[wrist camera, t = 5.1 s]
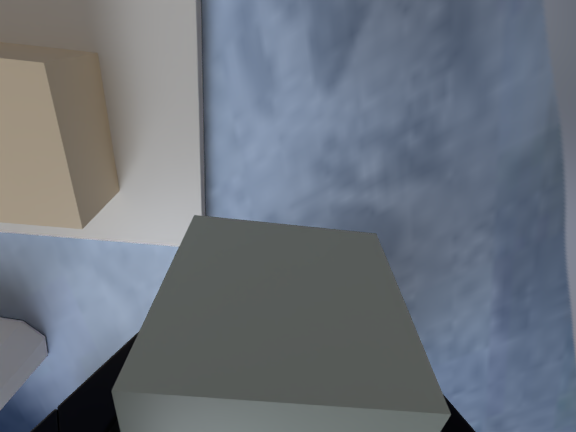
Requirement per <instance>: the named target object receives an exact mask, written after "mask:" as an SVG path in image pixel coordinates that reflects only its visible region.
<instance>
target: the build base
mask: <svg viewBox="0 0 576 432" xmlns="http://www.w3.org/2000/svg"><path fill="white" fill-rule="evenodd" d="M194 215H199V216H205V178H204V127H203V76H202V26H201V0H0V232H6V233H18V234H31V235H43V236H55V237H67V238H79V239H92V240H104V241H116V242H128V243H140V244H153V245H165V246H177V247H179V246H180V244H181V242H182V240H183V238H184V236H185V233H186V231H187V229H188V227H189V225H190V223H191V221H192V219H193V216H194Z"/></svg>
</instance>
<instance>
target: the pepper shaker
mask: <svg viewBox="0 0 576 432" xmlns="http://www.w3.org/2000/svg"><path fill="white" fill-rule="evenodd" d="M47 356H48V352H47V346H46V339H45V336H44V335H42V334H41V333H40V332H38V331H37V330H35V329H34V328H33V327H31V326H30V325H28V324H27V323H26V322H24V321H22V320H15V319H9V318H2V317H0V410H1V409H2V408H3V406H4V405H5V404H6V403H7V402H8V401H9V399H10V398H11V397H12V396H13V395H14V394H15V393H16V391H17V390H18V389H19V388H20V387H21V386H22V385H23V383H24V382H25V381H26V380H27V379H28V378H29V376H30V375H31V374H32V373H33V372H34V371H35V370H36V368H37V367H38V366H39V365H40V364H41V363H42V362H43V360H44V359H45V358H46V357H47Z"/></svg>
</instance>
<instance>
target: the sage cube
mask: <svg viewBox="0 0 576 432" xmlns="http://www.w3.org/2000/svg"><path fill="white" fill-rule="evenodd" d="M111 392H112V396H113V400H114V405H115V409H116V414H117V418H118V423H119V427H120V432H440V431H441V430H442V428H443V427H444V425H445V423H446V422H447V420H448V419H449V417H450V415H451V413H450V411H449V408H448V406H447V403H446V401H445V399H444V396H443V394H442V391H441V389H440V386H439V384H438V382H437V379H436V377H435V374H434V372H433V370H432V367H431V365H430V362H429V360H428V358H427V355H426V353H425V350H424V348H423V345H422V343H421V341H420V338H419V336H418V333H417V331H416V329H415V326H414V324H413V321H412V319H411V316H410V314H409V312H408V309H407V307H406V304H405V302H404V300H403V297H402V295H401V292H400V290H399V288H398V285H397V283H396V280H395V278H394V275H393V273H392V271H391V268H390V266H389V263H388V261H387V259H386V256H385V254H384V251H383V249H382V247H381V244H380V242H379V239H378V237H377V234H375V233H365V232H355V231H345V230H336V229H326V228H316V227H306V226H297V225H287V224H277V223H267V222H258V221H248V220H238V219H228V218H219V217H209V216H199V215H194V216H193V219H192V221H191V223H190V225H189V227H188V229H187V231H186V233H185V236H184V238H183V240H182V242H181V244H180V246H179V248H178V250H177V253H176V255H175V257H174V259H173V261H172V263H171V265H170V267H169V270H168V272H167V274H166V276H165V278H164V280H163V282H162V284H161V287H160V289H159V291H158V293H157V295H156V297H155V299H154V301H153V304H152V306H151V308H150V310H149V312H148V314H147V316H146V318H145V321H144V323H143V325H142V327H141V329H140V331H139V333H138V335H137V338H136V340H135V342H134V344H133V346H132V348H131V350H130V352H129V355H128V357H127V359H126V361H125V363H124V365H123V367H122V369H121V372H120V374H119V376H118V378H117V380H116V382H115V384H114V386H113V389H112V391H111Z"/></svg>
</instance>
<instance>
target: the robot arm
mask: <svg viewBox="0 0 576 432" xmlns="http://www.w3.org/2000/svg"><path fill="white" fill-rule="evenodd" d="M138 333H139V332H138ZM138 333H137V334H136V335H135V336H134V337H132V338H131V339H130V340H129V341H128V342H127V343H126V344H125V345H124V346H123V347H122V348H121V349H120V350H118V351H117V352H116V353H115V354H114V355H113V356H112V357H111V358H110V359H109V360H108V361H107V362H105V363H104V364H103V365H102V366H101V367H100V368H99V369H98V370H97V371H96V372H95V373H94V374H92V375H91V376H90V377H89V378H88V379H87V380H86V381H85V382H84V383H83V384H82V385H81V386H79V387H78V388H77V389H76V390H75V391H74V392H73V393H72V394H71V395H70V396H69V397H68V398H66V399H65V400H64V401H63V402H62V403H61V404H60V405H59V406H58V410H57V409H55V410H53V411H52V412H51V413H50V414H49V415H48V416H47V417H46V418H45V419H44V420H42V421H41V422H40V423H39V424H38V425H37V426H36V427H35V428H34V429H32V430H31V431H30V432H120V427H119V423H118V418H117V414H116V409H115V405H114V400H113V396H112V392H111V391H112V389H113V386H114V384H115V382H116V380H117V378H118V376H119V374H120V372H121V369H122V367H123V365H124V363H125V361H126V359H127V357H128V355H129V352H130V350H131V348H132V346H133V344H134V342H135V340H136V338H137V335H138ZM443 396H444V395H443ZM444 399H445V401H446V403H447V406H448V408H449V411H450V413H451V415H450V417H449V419H448V420H447V422H446V423H445V425H444V427H443V428H442V430H441V431H440V432H475V431H474V430H473V428H472V427H471V426H470V425H469V424H468V423H467V421H466V420H465V419H464V418H463V417H462V416H461V414H460V413H459V412H458V411H457V410H456V409H455V408H454V406H453V405H452V404H451V403H450V402H449V401H448V399H447V398H446V397H445V396H444Z"/></svg>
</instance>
